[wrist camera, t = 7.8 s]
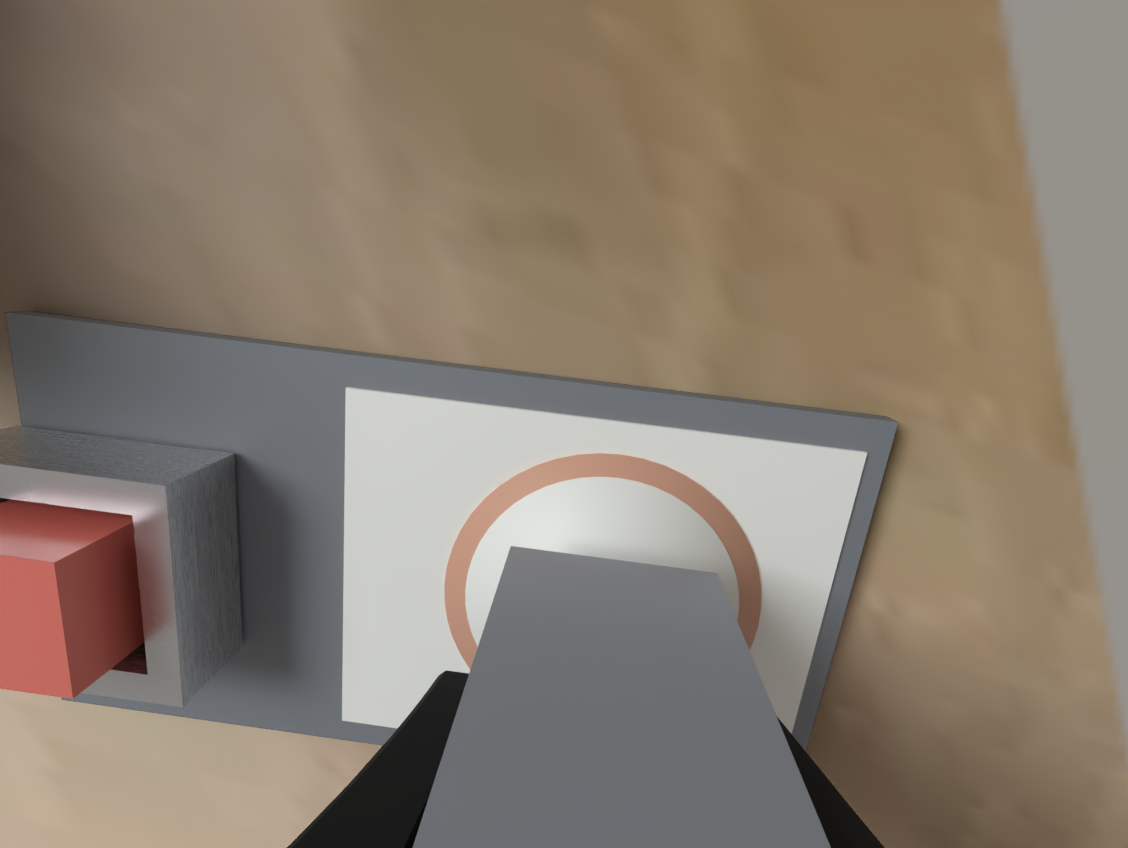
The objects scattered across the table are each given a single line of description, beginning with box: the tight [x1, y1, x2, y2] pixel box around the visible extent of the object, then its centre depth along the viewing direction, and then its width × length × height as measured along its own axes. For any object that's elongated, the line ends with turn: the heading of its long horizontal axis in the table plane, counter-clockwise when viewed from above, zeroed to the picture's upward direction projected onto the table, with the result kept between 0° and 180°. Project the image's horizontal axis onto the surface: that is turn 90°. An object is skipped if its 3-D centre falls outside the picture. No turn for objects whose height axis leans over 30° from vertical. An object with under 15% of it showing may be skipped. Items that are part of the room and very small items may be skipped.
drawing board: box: [5, 311, 898, 751], centre depth 13 cm, size 10×19×1 cm, turn 84°
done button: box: [0, 499, 145, 699], centre depth 11 cm, size 3×3×2 cm
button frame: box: [0, 425, 243, 707], centre depth 12 cm, size 5×5×2 cm
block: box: [413, 546, 831, 848], centre depth 7 cm, size 4×4×8 cm
